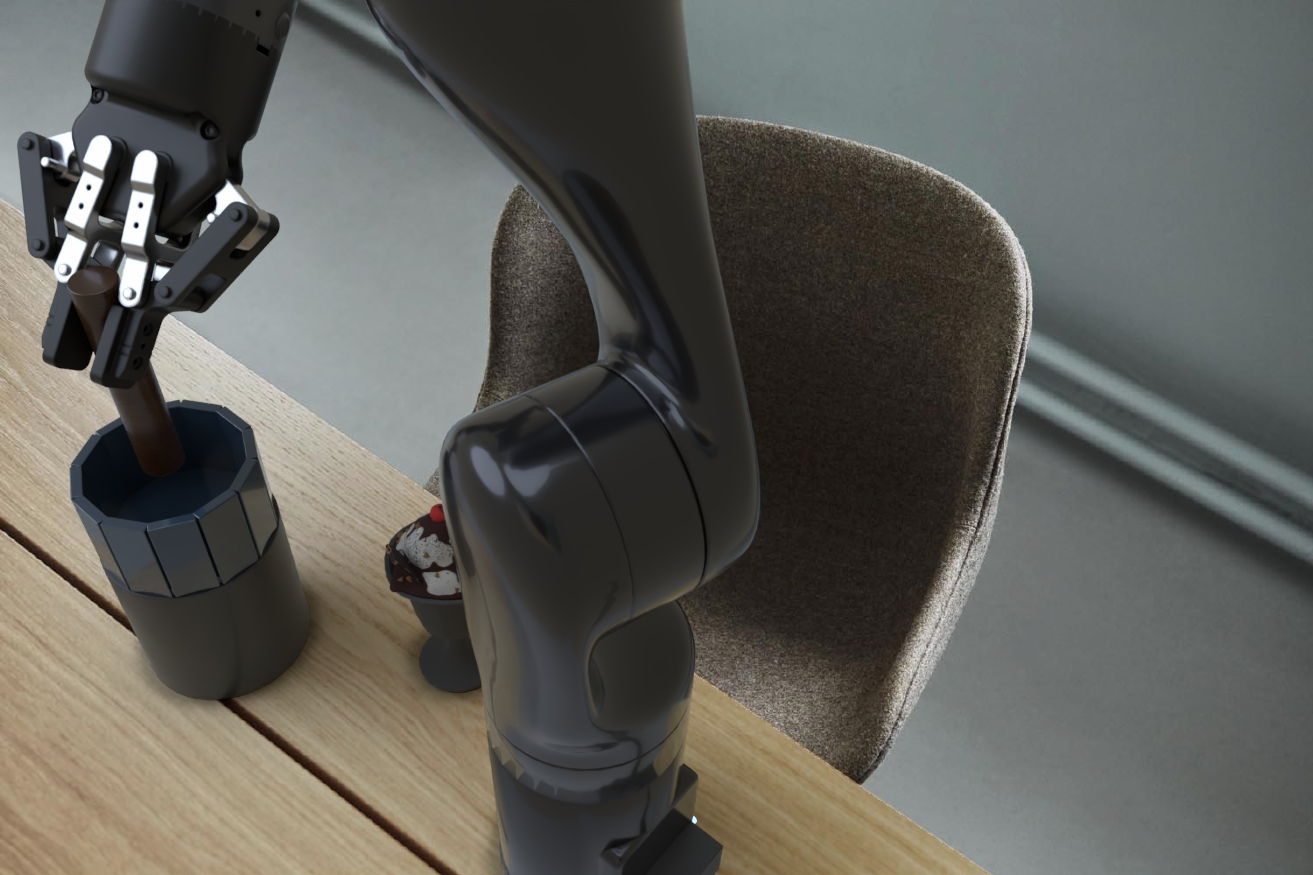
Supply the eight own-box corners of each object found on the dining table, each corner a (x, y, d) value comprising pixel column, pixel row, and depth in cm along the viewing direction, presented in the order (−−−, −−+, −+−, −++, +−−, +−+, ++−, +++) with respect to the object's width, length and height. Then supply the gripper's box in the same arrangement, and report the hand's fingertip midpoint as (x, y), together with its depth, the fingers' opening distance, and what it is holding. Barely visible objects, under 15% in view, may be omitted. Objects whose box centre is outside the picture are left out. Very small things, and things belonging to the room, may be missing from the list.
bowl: (310, 523, 64) (292, 456, 61) (167, 625, 59) (137, 560, 55) (210, 444, 68) (187, 376, 64) (68, 534, 63) (33, 467, 59)
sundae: (523, 617, 73) (512, 456, 62) (503, 710, 68) (487, 553, 57) (420, 606, 73) (391, 443, 62) (393, 698, 68) (356, 539, 57)
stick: (193, 451, 61) (128, 270, 52) (171, 481, 59) (100, 299, 50) (155, 442, 61) (84, 260, 52) (132, 472, 59) (55, 290, 51)
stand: (342, 625, 72) (315, 522, 64) (211, 730, 66) (166, 630, 59) (246, 546, 76) (211, 441, 68) (116, 638, 70) (62, 534, 63)
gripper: (17, -56, 50) (-97, 321, 51) (279, 18, 47) (151, 421, 47) (136, 12, 57) (34, 340, 58) (371, 80, 54) (259, 428, 55)
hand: (88, 375), depth 53 cm, fingers closed on stick, 2 cm apart
